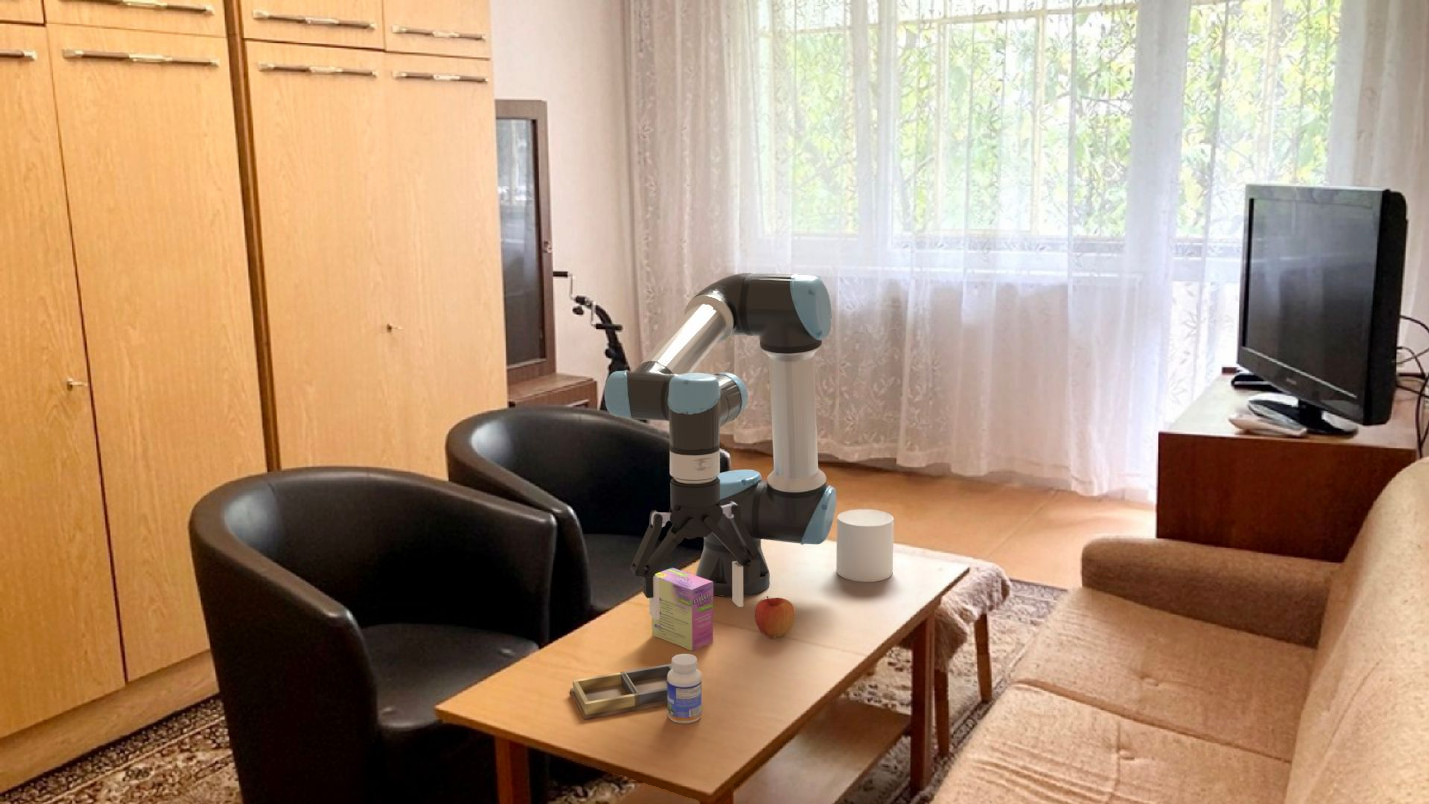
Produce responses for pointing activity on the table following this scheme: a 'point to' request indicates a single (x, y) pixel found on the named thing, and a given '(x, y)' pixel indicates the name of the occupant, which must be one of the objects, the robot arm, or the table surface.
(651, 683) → the two-compartment tray
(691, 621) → the box
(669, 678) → the pill bottle
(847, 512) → the cup
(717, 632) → the table surface
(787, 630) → the apple
